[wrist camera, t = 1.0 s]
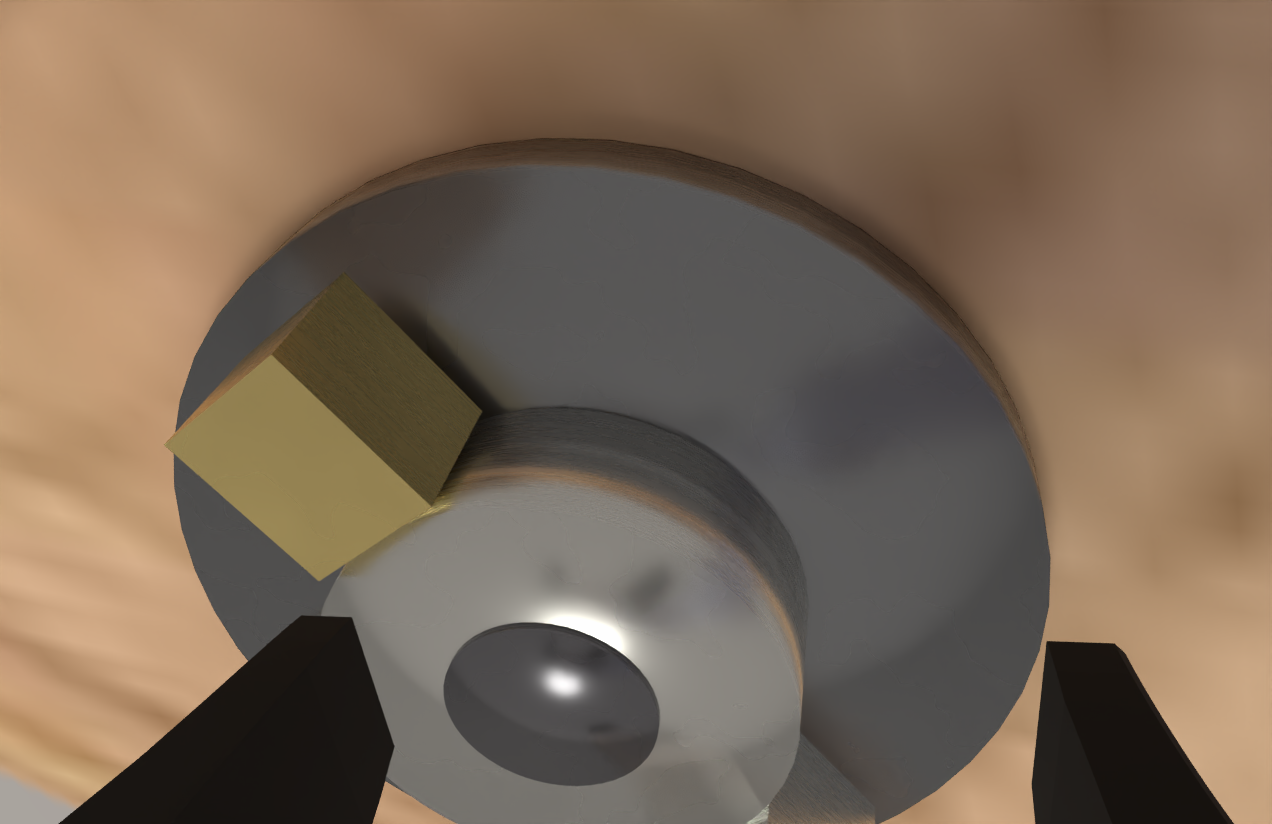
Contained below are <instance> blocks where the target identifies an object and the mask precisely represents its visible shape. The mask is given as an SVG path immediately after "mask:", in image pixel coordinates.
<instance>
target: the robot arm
mask: <svg viewBox="0 0 1272 824" xmlns="http://www.w3.org/2000/svg"><path fill="white" fill-rule="evenodd" d="M394 747H395V746H394V743H393V740H392V737H391V734H390V731H389V728H388V725H387V722H386V719H385V716H384V713H383V710H382V707H381V704H380V701H379V698H378V695H377V692H376V688H375V685H374V682H373V679H372V676H371V673H370V670H369V667H368V664H367V661H366V658H365V655H364V652H363V649H362V646H361V643H360V640H359V637H358V634H357V631H356V628H355V625H354V622H353V619H352V617H334V616H305V615H301V616H300V617H298V618H297V619H296V620H295V621H294V622H293V623H291V624H290V625H289V626H288V627H287V628H285V629H284V630H283V631H282V632H281V633H280V634H278V635H277V636H276V637H275V638H274V639H273V640H272V641H270V642H269V643H268V644H267V645H266V646H265V647H264V648H263V649H261V650H260V651H259V652H258V653H257V654H256V655H255V656H254V657H252V658H251V659H250V660H249V661H248V662H247V663H246V664H245V665H244V666H242V667H241V668H240V669H239V670H238V671H237V672H236V673H235V674H234V675H232V676H231V677H230V678H229V679H228V680H227V681H226V682H225V683H224V684H222V685H221V686H220V687H219V688H218V689H217V690H216V691H215V692H214V693H212V694H211V695H210V696H209V697H208V698H207V699H206V700H205V701H204V702H202V703H201V704H200V705H199V706H198V707H197V708H196V709H194V710H193V711H192V712H191V713H190V714H189V715H188V716H186V717H185V718H184V719H183V720H182V721H181V722H180V723H179V724H177V725H176V726H175V727H174V728H173V729H172V730H171V731H169V732H168V733H167V734H166V735H165V736H164V737H163V738H161V739H160V740H159V741H158V742H157V743H156V744H155V745H154V746H152V747H151V748H150V749H149V750H148V751H147V752H146V753H144V754H143V755H142V756H141V757H140V758H139V759H137V760H136V761H135V762H134V763H132V764H131V765H130V766H129V767H127V768H126V769H125V770H124V771H123V772H121V773H120V774H119V775H118V776H116V777H115V778H114V779H113V780H112V781H110V782H109V783H108V784H107V785H105V786H104V787H103V788H102V789H101V790H99V791H98V792H97V793H96V794H94V795H93V796H92V797H91V798H89V799H88V800H87V801H86V802H85V803H83V804H82V805H81V806H80V807H78V808H77V809H76V810H75V811H74V812H72V813H71V814H70V815H69V816H68V817H66V818H65V819H64V820H63V821H61V822H60V823H59V824H372V823H373V820H374V817H375V813H376V810H377V807H378V804H379V800H380V797H381V794H382V790H383V787H384V783H385V779H386V776H387V772H388V769H389V765H390V761H391V758H392V754H393V751H394ZM1032 793H1033V803H1034V813H1035V824H1234V823H1233V822H1232V820H1231V819H1230V818H1229V816H1228V815H1227V813H1226V812H1225V811H1224V809H1223V808H1222V807H1221V805H1220V804H1219V802H1218V801H1217V800H1216V798H1215V797H1214V795H1213V794H1212V793H1211V791H1210V790H1209V788H1208V787H1207V785H1206V784H1205V782H1204V781H1203V779H1202V778H1201V776H1200V775H1199V774H1198V772H1197V771H1196V769H1195V768H1194V766H1193V765H1192V763H1191V762H1190V760H1189V759H1188V757H1187V755H1186V754H1185V752H1184V751H1183V749H1182V748H1181V746H1180V745H1179V743H1178V742H1177V740H1176V738H1175V737H1174V735H1173V734H1172V732H1171V731H1170V729H1169V728H1168V726H1167V724H1166V723H1165V721H1164V720H1163V718H1162V716H1161V715H1160V713H1159V711H1158V710H1157V708H1156V707H1155V705H1154V703H1153V702H1152V700H1151V698H1150V697H1149V695H1148V693H1147V692H1146V690H1145V688H1144V686H1143V685H1142V683H1141V681H1140V679H1139V678H1138V676H1137V674H1136V672H1135V671H1134V669H1133V667H1132V665H1131V663H1130V662H1129V660H1128V658H1127V656H1126V654H1125V653H1124V652H1123V651H1122V650H1121V649H1120V648H1119V647H1118V646H1116V645H1115V644H1113V643H1084V642H1055V641H1047V643H1046V653H1045V662H1044V672H1043V682H1042V691H1041V701H1040V710H1039V720H1038V729H1037V739H1036V748H1035V758H1034V767H1033V777H1032Z"/></svg>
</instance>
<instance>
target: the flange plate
mask: <svg viewBox="0 0 1272 824" xmlns="http://www.w3.org/2000/svg"><path fill="white" fill-rule="evenodd" d="M343 272H345V273H346V274H347V275H348V276H349V277H350V278H351V279H352V280H353V281H354V282H355V283H356V284H357V285H358V286H359V287H360V288H361V289H362V290H363V291H364V292H365V293H366V294H367V295H368V296H369V297H370V298H371V299H372V300H373V301H374V302H375V303H376V304H377V305H378V306H379V307H380V308H381V309H382V310H383V311H384V312H385V313H386V314H387V315H388V316H389V317H390V318H391V319H392V320H393V321H394V322H395V323H396V324H397V325H398V326H399V327H400V328H401V329H402V331H403V332H404V333H405V334H406V335H407V336H408V337H409V338H410V339H411V340H412V341H413V342H414V343H415V344H416V345H417V346H418V347H419V348H420V349H421V350H422V351H423V352H424V353H425V354H426V355H427V356H428V357H429V358H430V359H431V360H432V361H433V362H434V363H435V364H436V365H437V366H438V367H439V368H440V369H441V370H442V371H443V372H444V373H445V374H446V375H447V376H448V377H449V378H450V379H451V380H452V381H453V382H454V383H455V384H456V385H457V386H458V387H459V388H460V389H461V390H462V391H463V392H464V393H465V394H466V395H467V396H468V397H469V398H470V399H471V400H472V401H473V402H474V403H475V404H476V405H477V406H478V407H479V408H480V409H481V410H482V413H481V415H480V416H479V418H478V420H480V419H484V418H487V417H490V416H493V415H497V414H502V413H508V412H514V411H520V410H525V409H545V408H565V409H580V410H590V411H596V412H602V413H607V414H613V415H619V416H622V417H626V418H629V419H633V420H636V421H639V422H643V423H646V424H650V425H652V426H655V427H657V428H660V429H662V430H664V431H667V432H669V433H672V434H674V435H677V436H679V437H681V438H683V439H685V440H687V441H688V442H690V443H692V444H694V445H696V446H698V447H699V448H701V449H703V450H705V451H707V452H708V453H710V454H711V455H713V456H714V457H716V458H717V459H718V460H720V461H721V462H723V463H724V464H726V465H727V466H728V467H730V468H731V469H733V470H734V471H735V472H736V473H737V474H738V475H739V476H741V477H742V478H743V479H744V480H745V481H746V482H747V483H748V484H750V485H751V486H752V487H753V488H754V489H755V490H756V491H757V492H758V493H759V495H760V496H761V497H762V498H763V499H764V500H765V501H766V503H767V504H768V505H769V506H770V507H771V508H772V509H773V511H774V512H775V513H776V515H777V516H778V518H779V520H780V521H781V523H782V524H783V526H784V527H785V529H786V530H787V532H788V533H789V535H790V537H791V539H792V542H793V544H794V546H795V548H796V550H797V552H798V554H799V556H800V560H801V563H802V567H803V570H804V573H805V577H806V581H807V589H808V598H809V612H808V628H807V642H806V656H805V670H804V683H803V697H802V711H801V724H800V732H801V733H802V734H803V735H804V736H805V737H806V738H807V739H808V740H809V741H810V742H811V743H812V744H813V745H814V746H815V747H816V748H817V749H818V750H819V751H820V752H821V753H822V754H823V755H824V756H825V757H826V758H827V759H828V760H829V761H830V762H831V763H832V764H833V765H834V766H835V767H836V768H837V769H838V770H839V771H840V772H841V773H842V774H843V775H844V776H845V777H846V778H847V779H848V780H849V781H850V782H851V783H852V784H853V785H854V786H855V787H856V788H857V789H858V790H859V791H860V793H861V794H862V795H863V796H864V797H865V798H866V799H867V800H868V801H869V802H870V803H871V804H872V805H873V806H874V807H875V824H879V823H881V822H884V821H886V820H888V819H890V818H892V817H894V816H896V815H898V814H900V813H902V812H903V811H905V810H907V809H908V808H910V807H911V806H913V805H914V804H916V803H918V802H919V801H921V800H922V799H924V798H925V797H927V796H929V795H930V794H932V793H933V792H935V791H937V790H938V789H939V788H940V787H941V786H943V785H944V784H945V783H946V782H947V781H948V780H950V779H951V778H952V777H953V776H954V775H956V774H957V773H958V772H959V771H960V770H961V769H963V768H964V767H965V766H966V765H967V764H969V763H970V762H971V761H972V760H973V758H974V757H975V756H976V755H977V754H978V753H979V752H980V750H981V749H982V748H983V747H984V746H985V745H986V744H987V742H988V741H989V740H990V739H991V738H992V737H993V736H994V735H995V733H996V732H997V731H998V730H999V729H1000V727H1001V725H1002V724H1003V722H1004V721H1005V719H1006V718H1007V716H1008V714H1009V713H1010V711H1011V710H1012V708H1013V706H1014V705H1015V703H1016V702H1017V700H1018V698H1019V697H1020V695H1021V694H1022V692H1023V690H1024V687H1025V685H1026V682H1027V680H1028V677H1029V675H1030V672H1031V670H1032V668H1033V665H1034V663H1035V660H1036V658H1037V655H1038V653H1039V650H1040V645H1041V641H1042V636H1043V631H1044V627H1045V622H1046V617H1047V613H1048V608H1049V586H1050V553H1049V546H1048V539H1047V533H1046V526H1045V520H1044V513H1043V507H1042V502H1041V497H1040V492H1039V486H1038V481H1037V476H1036V471H1035V466H1034V461H1033V457H1032V454H1031V451H1030V448H1029V445H1028V442H1027V439H1026V436H1025V433H1024V430H1023V427H1022V424H1021V421H1020V418H1019V415H1018V412H1017V410H1016V408H1015V406H1014V404H1013V402H1012V400H1011V398H1010V396H1009V394H1008V392H1007V390H1006V388H1005V387H1004V385H1003V383H1002V381H1001V379H1000V377H999V375H998V373H997V371H996V369H995V367H994V365H993V363H992V362H991V360H990V359H989V357H988V356H987V355H986V353H985V352H984V351H983V349H982V348H981V346H980V345H979V344H978V342H977V341H976V340H975V338H974V337H973V335H972V334H971V333H970V331H969V330H968V329H967V327H966V326H965V325H964V323H963V322H962V320H961V319H960V318H959V316H958V315H957V314H956V313H955V312H954V311H953V310H952V309H951V308H950V306H949V305H948V304H947V303H946V302H945V301H944V300H943V299H942V298H941V297H940V296H939V295H938V294H937V293H936V292H935V291H934V290H933V289H932V288H931V287H930V286H929V285H928V284H927V283H926V282H925V281H924V280H923V279H922V278H921V277H920V276H919V275H918V274H917V273H916V272H915V271H914V270H913V269H912V268H911V267H909V266H908V265H907V264H906V263H904V262H903V261H902V260H900V259H899V258H898V257H897V256H895V255H894V254H893V253H891V252H890V251H889V250H888V249H886V248H885V247H884V246H882V245H881V244H880V243H878V242H877V241H876V240H875V239H873V238H872V237H871V236H869V235H868V234H867V233H866V232H864V231H863V230H862V229H860V228H858V227H857V226H855V225H853V224H851V223H850V222H848V221H846V220H845V219H843V218H841V217H839V216H838V215H836V214H834V213H833V212H831V211H829V210H827V209H826V208H824V207H822V206H821V205H819V204H817V203H816V202H814V201H812V200H810V199H809V198H807V197H805V196H803V195H801V194H799V193H796V192H794V191H792V190H789V189H787V188H785V187H782V186H780V185H777V184H775V183H773V182H770V181H768V180H766V179H763V178H761V177H759V176H756V175H754V174H752V173H749V172H747V171H745V170H742V169H739V168H736V167H732V166H729V165H725V164H722V163H718V162H715V161H711V160H708V159H704V158H701V157H697V156H694V155H690V154H686V153H683V152H679V151H676V150H670V149H663V148H657V147H650V146H644V145H637V144H630V143H624V142H617V141H611V140H581V139H534V140H525V141H516V142H507V143H498V144H488V145H479V146H476V147H472V148H468V149H464V150H460V151H456V152H452V153H448V154H444V155H440V156H436V157H432V158H428V159H424V160H420V161H418V162H416V163H413V164H411V165H408V166H406V167H404V168H401V169H399V170H396V171H394V172H391V173H389V174H387V175H384V176H382V177H379V178H377V179H375V180H372V181H370V182H368V183H366V184H364V185H363V186H361V187H359V188H358V189H356V190H355V191H353V192H351V193H350V194H348V195H346V196H345V197H343V198H341V199H340V200H338V201H337V202H335V203H333V204H332V205H330V206H328V207H327V208H325V209H323V210H322V211H321V212H320V213H318V214H317V215H316V216H315V217H314V218H313V219H312V220H310V221H309V222H308V223H307V224H306V225H305V226H303V227H302V228H301V229H300V230H299V231H298V232H296V233H295V234H294V235H293V236H292V237H291V238H289V239H288V240H287V241H286V242H285V243H284V244H283V245H282V246H281V247H280V248H279V249H278V250H277V251H275V252H274V253H273V254H272V255H271V256H270V257H269V258H268V259H267V260H266V261H265V262H264V263H263V264H262V265H261V266H260V267H259V268H258V269H257V270H256V271H255V272H254V273H253V274H252V275H251V276H250V277H249V278H248V279H247V280H246V281H245V283H244V284H243V285H242V286H241V287H240V289H239V290H238V291H237V292H236V294H235V295H234V296H233V297H232V298H231V300H230V301H229V302H228V303H227V305H226V306H225V307H224V308H223V309H222V311H221V312H220V313H219V314H218V316H217V317H216V319H215V321H214V323H213V325H212V326H211V328H210V330H209V332H208V334H207V335H206V337H205V339H204V341H203V343H202V344H201V346H200V348H199V350H198V352H197V353H196V355H195V357H194V360H193V363H192V366H191V369H190V372H189V375H188V378H187V381H186V384H185V387H184V390H183V393H182V396H181V399H180V404H179V411H178V418H177V424H176V431H177V430H178V429H179V428H180V427H181V426H182V425H183V424H184V423H185V421H186V420H187V419H188V418H189V417H190V416H191V415H192V414H193V413H194V412H195V411H196V409H197V408H198V407H199V406H200V405H201V404H202V403H203V402H204V401H205V400H206V399H207V397H208V396H209V395H210V394H211V393H212V392H213V391H214V390H215V389H216V388H217V387H218V386H219V384H220V383H221V382H222V381H223V380H224V379H225V378H226V377H227V376H228V375H229V374H230V372H231V371H232V370H233V369H234V368H235V367H236V366H237V365H238V364H239V363H240V362H241V360H242V359H243V358H244V357H245V356H247V355H248V354H249V353H250V352H251V351H252V350H253V349H255V348H256V347H257V346H258V345H259V344H260V343H262V342H263V341H264V340H265V339H266V338H267V337H269V336H270V335H271V334H272V333H273V332H274V331H276V330H277V329H278V328H279V327H280V326H281V325H283V324H284V323H285V322H286V321H287V320H288V319H290V318H291V317H292V316H293V315H294V314H295V313H297V312H298V311H299V310H300V309H301V308H302V307H304V306H305V305H306V304H307V303H308V302H309V301H311V300H312V299H313V298H314V297H315V296H316V295H318V294H319V293H320V292H321V291H322V290H323V289H325V288H326V287H327V286H328V285H329V284H330V283H332V282H333V281H334V280H335V279H336V278H337V277H339V276H340V275H341V274H342V273H343ZM176 431H175V432H176ZM174 487H175V493H176V499H177V505H178V510H179V516H180V522H181V528H182V531H183V535H184V538H185V541H186V544H187V547H188V550H189V553H190V556H191V559H192V562H193V565H194V568H195V571H196V573H197V575H198V578H199V580H200V582H201V584H202V586H203V588H204V590H205V592H206V594H207V596H208V598H209V601H210V603H211V605H212V607H213V609H214V611H215V613H216V614H217V616H218V617H219V619H220V620H221V622H222V624H223V625H224V627H225V628H226V630H227V632H228V633H229V635H230V636H231V638H232V639H233V641H234V643H235V644H236V646H237V647H238V649H239V650H240V651H241V653H242V654H243V655H244V656H245V658H246V659H247V660H248V661H249V660H250V659H251V658H252V657H254V656H255V655H256V654H257V653H258V652H259V651H260V650H261V649H263V648H264V647H265V646H266V645H267V644H268V643H269V642H270V641H272V640H273V639H274V638H275V637H276V636H277V635H278V634H280V633H281V632H282V631H283V630H284V629H285V628H287V627H288V626H289V625H290V624H291V623H293V622H294V621H295V620H296V619H297V618H298V617H300V616H301V615H305V616H321V614H322V610H323V607H324V603H325V601H326V599H327V597H328V595H329V593H330V591H331V589H332V587H333V585H334V583H335V581H336V579H337V578H338V576H339V574H340V573H341V571H342V569H343V568H344V566H345V564H344V565H343V566H341V567H340V568H338V569H337V570H335V571H334V572H332V573H331V574H329V575H328V576H326V577H325V578H323V579H322V580H320V581H318V580H317V579H316V578H315V577H313V576H312V575H311V574H310V573H309V572H308V571H307V570H305V569H304V568H303V567H302V566H301V565H300V564H299V563H297V562H296V561H295V560H294V559H293V558H292V557H291V556H290V555H288V554H287V553H286V552H285V551H284V550H283V549H282V548H280V547H279V546H278V545H277V544H276V543H275V542H274V541H273V540H271V539H270V538H269V537H268V536H267V535H266V534H265V533H263V532H262V531H261V530H260V529H259V528H258V527H257V526H255V525H254V524H253V523H252V522H251V521H250V520H249V519H248V518H246V517H245V516H244V515H243V514H242V513H241V512H240V511H238V510H237V509H236V508H235V507H234V506H233V505H232V504H231V503H229V502H228V501H227V500H226V499H225V498H224V497H223V496H221V495H220V494H219V493H218V492H217V491H216V490H215V489H213V488H212V487H211V486H210V485H209V484H208V483H207V482H206V481H204V480H203V479H202V478H201V477H200V476H199V475H198V474H196V473H195V472H194V471H193V470H192V469H191V468H190V467H189V466H187V465H186V464H185V463H184V462H183V461H182V460H181V459H179V458H178V457H177V456H176V455H175V454H174ZM385 781H386V782H388V783H389V784H391V785H393V786H395V787H396V788H398V789H400V790H401V791H403V790H402V789H401V788H399V787H398V786H397V785H396V784H395V783H394V782H392V781H391V780H390V779H389V778H388V777H387V776H386V779H385ZM403 792H405V791H403ZM405 793H406V792H405ZM406 794H408V793H406ZM408 795H409V794H408Z"/></svg>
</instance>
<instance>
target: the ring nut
mask: <svg viewBox="0 0 1272 824" xmlns="http://www.w3.org/2000/svg"><path fill="white" fill-rule="evenodd" d="M481 413H482V410H481V409H480V408H479V407H478V406H477V405H476V404H475V403H474V402H473V401H472V400H471V399H470V398H469V397H468V396H467V395H466V394H465V393H464V392H463V391H462V390H461V389H460V388H459V387H458V386H457V385H456V384H455V383H454V382H453V381H452V380H451V379H450V378H449V377H448V376H447V375H446V374H445V373H444V372H443V371H442V370H441V369H440V368H439V367H438V366H437V365H436V364H435V363H434V362H433V361H432V360H431V359H430V358H429V357H428V356H427V355H426V354H425V353H424V352H423V351H422V350H421V349H420V348H419V347H418V346H417V345H416V344H415V343H414V342H413V341H412V340H411V339H410V338H409V337H408V336H407V335H406V334H405V333H404V332H403V331H402V329H401V328H400V327H399V326H398V325H397V324H396V323H395V322H394V321H393V320H392V319H391V318H390V317H389V316H388V315H387V314H386V313H385V312H384V311H383V310H382V309H381V308H380V307H379V306H378V305H377V304H376V303H375V302H374V301H373V300H372V299H371V298H370V297H369V296H368V295H367V294H366V293H365V292H364V291H363V290H362V289H361V288H360V287H359V286H358V285H357V284H356V283H355V282H354V281H353V280H352V279H351V278H350V277H349V276H348V275H347V274H346V273H345V272H343V273H342V274H341V275H340V276H339V277H337V278H336V279H335V280H334V281H333V282H332V283H330V284H329V285H328V286H327V287H326V288H325V289H323V290H322V291H321V292H320V293H319V294H318V295H316V296H315V297H314V298H313V299H312V300H311V301H309V302H308V303H307V304H306V305H305V306H304V307H302V308H301V309H300V310H299V311H298V312H297V313H295V314H294V315H293V316H292V317H291V318H290V319H288V320H287V321H286V322H285V323H284V324H283V325H281V326H280V327H279V328H278V329H277V330H276V331H274V332H273V333H272V334H271V335H270V336H269V337H267V338H266V339H265V340H264V341H263V342H262V343H260V344H259V345H258V346H257V347H256V348H255V349H253V350H252V351H251V352H250V353H249V354H248V355H247V356H245V357H244V358H243V359H242V360H241V362H240V363H239V364H238V365H237V366H236V367H235V368H234V369H233V370H232V371H231V372H230V374H229V375H228V376H227V377H226V378H225V379H224V380H223V381H222V382H221V383H220V384H219V386H218V387H217V388H216V389H215V390H214V391H213V392H212V393H211V394H210V395H209V396H208V397H207V399H206V400H205V401H204V402H203V403H202V404H201V405H200V406H199V407H198V408H197V409H196V411H195V412H194V413H193V414H192V415H191V416H190V417H189V418H188V419H187V420H186V421H185V423H184V424H183V425H182V426H181V427H180V428H179V429H178V430H177V431H176V432H175V433H174V435H173V436H172V437H171V438H170V439H169V440H168V441H167V442H166V443H165V444H164V445H165V446H166V447H167V448H168V449H169V450H170V451H171V452H173V453H174V454H175V455H176V456H177V457H178V458H179V459H181V460H182V461H183V462H184V463H185V464H186V465H187V466H189V467H190V468H191V469H192V470H193V471H194V472H195V473H196V474H198V475H199V476H200V477H201V478H202V479H203V480H204V481H206V482H207V483H208V484H209V485H210V486H211V487H212V488H213V489H215V490H216V491H217V492H218V493H219V494H220V495H221V496H223V497H224V498H225V499H226V500H227V501H228V502H229V503H231V504H232V505H233V506H234V507H235V508H236V509H237V510H238V511H240V512H241V513H242V514H243V515H244V516H245V517H246V518H248V519H249V520H250V521H251V522H252V523H253V524H254V525H255V526H257V527H258V528H259V529H260V530H261V531H262V532H263V533H265V534H266V535H267V536H268V537H269V538H270V539H271V540H273V541H274V542H275V543H276V544H277V545H278V546H279V547H280V548H282V549H283V550H284V551H285V552H286V553H287V554H288V555H290V556H291V557H292V558H293V559H294V560H295V561H296V562H297V563H299V564H300V565H301V566H302V567H303V568H304V569H305V570H307V571H308V572H309V573H310V574H311V575H312V576H313V577H315V578H316V579H317V580H318V581H320V580H322V579H323V578H325V577H326V576H328V575H329V574H331V573H332V572H334V571H335V570H337V569H338V568H340V567H341V566H343V565H344V564H345V566H344V568H343V569H342V571H341V573H340V574H339V576H338V578H337V579H336V581H335V583H334V585H333V587H332V589H331V591H330V593H329V595H328V597H327V599H326V601H325V603H324V607H323V610H322V614H321V616H334V617H352V619H353V622H354V625H355V628H356V631H357V634H358V637H359V640H360V643H361V646H362V649H363V652H364V655H365V658H366V661H367V664H368V667H369V670H370V673H371V676H372V679H373V682H374V685H375V688H376V692H377V695H378V698H379V701H380V704H381V707H382V710H383V713H384V716H385V719H386V722H387V725H388V728H389V731H390V734H391V737H392V740H393V743H394V746H395V747H394V751H393V754H392V758H391V761H390V765H389V769H388V772H387V777H388V778H389V779H390V780H391V781H392V782H394V783H395V784H396V785H397V786H398V787H399V788H401V789H402V790H403V791H405V792H406V793H408V794H409V795H410V796H412V797H413V798H415V799H416V800H418V801H419V802H420V803H422V804H423V805H425V806H427V807H428V808H430V809H432V810H433V811H435V812H437V813H438V814H440V815H442V816H444V817H445V818H447V819H449V820H451V821H453V822H455V823H457V824H875V807H874V806H873V805H872V804H871V803H870V802H869V801H868V800H867V799H866V798H865V797H864V796H863V795H862V794H861V793H860V791H859V790H858V789H857V788H856V787H855V786H854V785H853V784H852V783H851V782H850V781H849V780H848V779H847V778H846V777H845V776H844V775H843V774H842V773H841V772H840V771H839V770H838V769H837V768H836V767H835V766H834V765H833V764H832V763H831V762H830V761H829V760H828V759H827V758H826V757H825V756H824V755H823V754H822V753H821V752H820V751H819V750H818V749H817V748H816V747H815V746H814V745H813V744H812V743H811V742H810V741H809V740H808V739H807V738H806V737H805V736H804V735H803V734H802V733H801V732H800V724H801V711H802V697H803V683H804V670H805V656H806V642H807V628H808V612H809V598H808V589H807V581H806V577H805V573H804V570H803V567H802V563H801V560H800V556H799V554H798V552H797V550H796V548H795V546H794V544H793V542H792V539H791V537H790V535H789V533H788V532H787V530H786V529H785V527H784V526H783V524H782V523H781V521H780V520H779V518H778V516H777V515H776V513H775V512H774V511H773V509H772V508H771V507H770V506H769V505H768V504H767V503H766V501H765V500H764V499H763V498H762V497H761V496H760V495H759V493H758V492H757V491H756V490H755V489H754V488H753V487H752V486H751V485H750V484H748V483H747V482H746V481H745V480H744V479H743V478H742V477H741V476H739V475H738V474H737V473H736V472H735V471H734V470H733V469H731V468H730V467H728V466H727V465H726V464H724V463H723V462H721V461H720V460H718V459H717V458H716V457H714V456H713V455H711V454H710V453H708V452H707V451H705V450H703V449H701V448H699V447H698V446H696V445H694V444H692V443H690V442H688V441H687V440H685V439H683V438H681V437H679V436H677V435H674V434H672V433H669V432H667V431H664V430H662V429H660V428H657V427H655V426H652V425H650V424H646V423H643V422H639V421H636V420H633V419H629V418H626V417H622V416H619V415H613V414H607V413H602V412H596V411H590V410H580V409H565V408H545V409H525V410H520V411H514V412H508V413H502V414H497V415H493V416H490V417H487V418H484V419H480V420H478V418H479V416H480V415H481Z"/></svg>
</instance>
